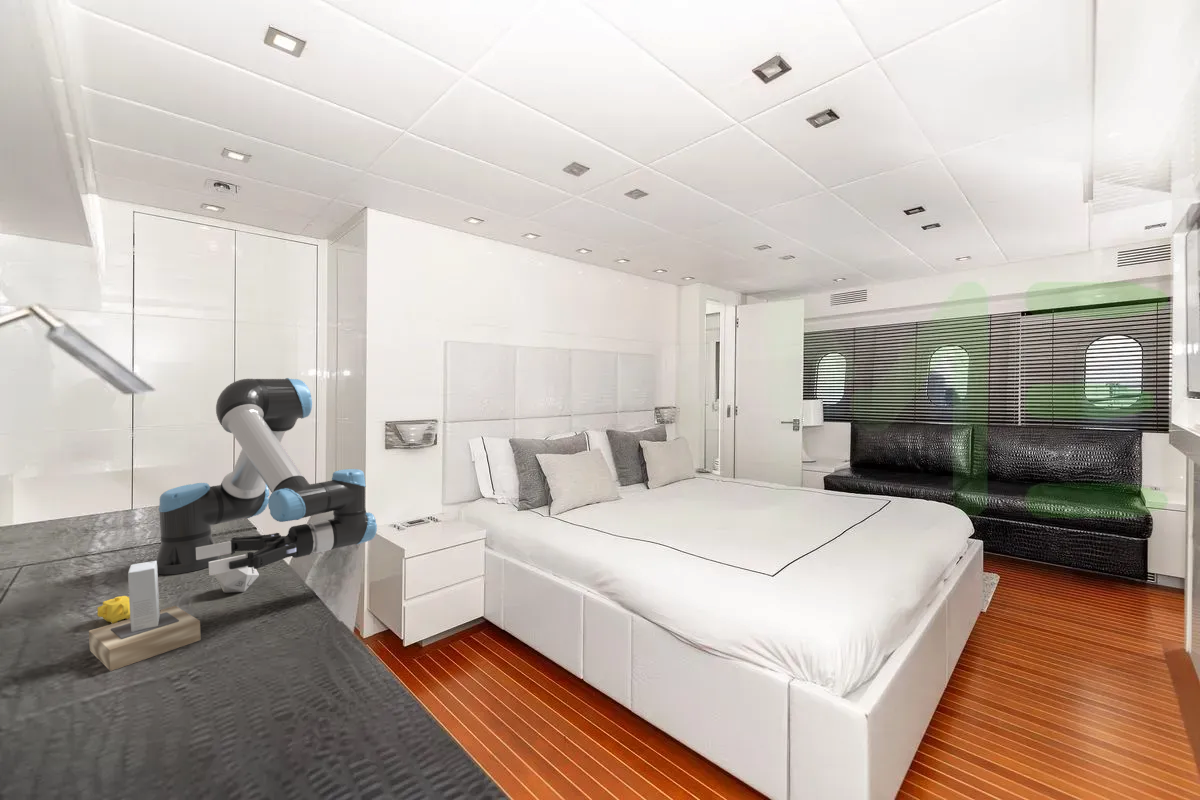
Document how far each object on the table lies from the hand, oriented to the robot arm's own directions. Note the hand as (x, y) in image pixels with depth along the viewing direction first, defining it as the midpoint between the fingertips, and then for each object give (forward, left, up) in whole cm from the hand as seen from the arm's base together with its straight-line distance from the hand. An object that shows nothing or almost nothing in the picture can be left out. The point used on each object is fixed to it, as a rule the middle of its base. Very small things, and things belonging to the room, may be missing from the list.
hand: (202, 561), depth 113 cm
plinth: (-2, -10, -15) cm, 18 cm away
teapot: (-23, -10, -15) cm, 29 cm away
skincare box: (-1, -10, -11) cm, 14 cm away
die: (-19, +13, -15) cm, 27 cm away
